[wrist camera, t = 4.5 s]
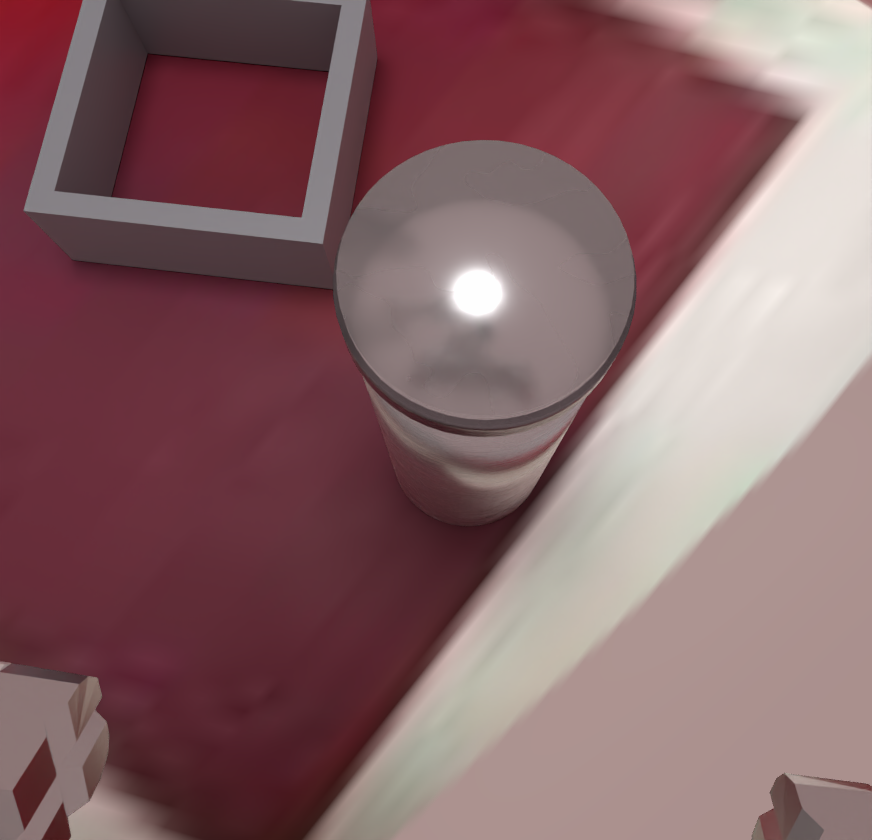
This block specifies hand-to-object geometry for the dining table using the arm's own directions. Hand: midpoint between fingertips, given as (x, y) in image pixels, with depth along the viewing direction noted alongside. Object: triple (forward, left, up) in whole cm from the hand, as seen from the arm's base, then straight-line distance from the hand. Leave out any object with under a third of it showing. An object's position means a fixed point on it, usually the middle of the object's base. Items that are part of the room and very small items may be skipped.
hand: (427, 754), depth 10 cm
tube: (0, +7, -16) cm, 18 cm away
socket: (-10, +17, -16) cm, 26 cm away
